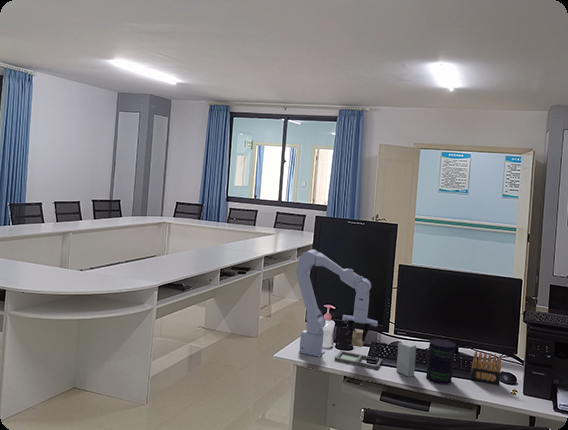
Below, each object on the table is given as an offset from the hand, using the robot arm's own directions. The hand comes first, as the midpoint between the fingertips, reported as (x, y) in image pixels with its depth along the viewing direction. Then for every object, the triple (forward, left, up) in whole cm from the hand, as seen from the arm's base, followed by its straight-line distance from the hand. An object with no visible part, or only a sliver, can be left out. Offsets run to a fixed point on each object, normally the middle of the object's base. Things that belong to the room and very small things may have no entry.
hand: (357, 339), depth 217 cm
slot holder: (+1, 0, -9) cm, 9 cm away
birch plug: (0, 0, -2) cm, 2 cm away
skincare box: (+21, -3, -9) cm, 23 cm away
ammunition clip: (+51, +6, -9) cm, 52 cm away
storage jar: (+34, -2, -9) cm, 35 cm away
